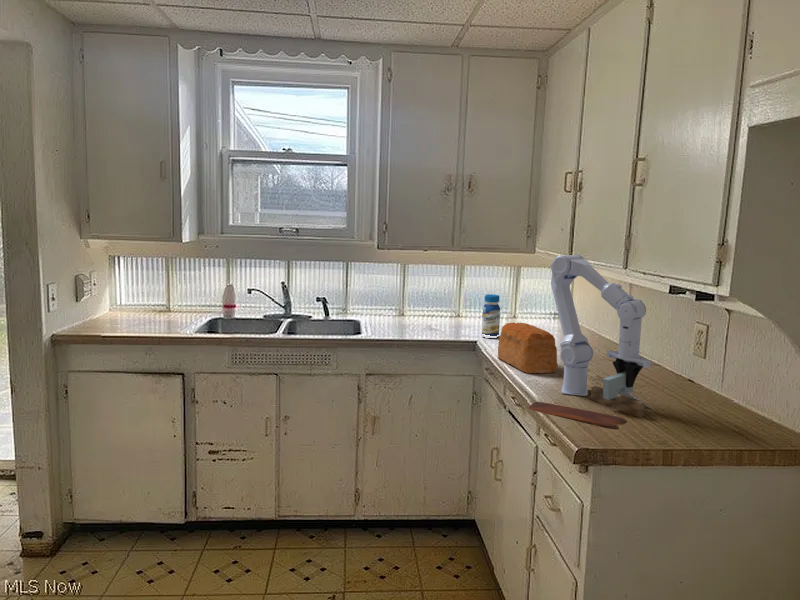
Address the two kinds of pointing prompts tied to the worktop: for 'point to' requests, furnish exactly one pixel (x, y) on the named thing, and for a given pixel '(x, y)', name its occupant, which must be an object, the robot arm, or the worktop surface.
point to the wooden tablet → (578, 414)
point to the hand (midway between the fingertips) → (626, 385)
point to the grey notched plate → (615, 386)
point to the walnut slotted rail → (619, 402)
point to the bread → (528, 348)
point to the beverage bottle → (491, 315)
